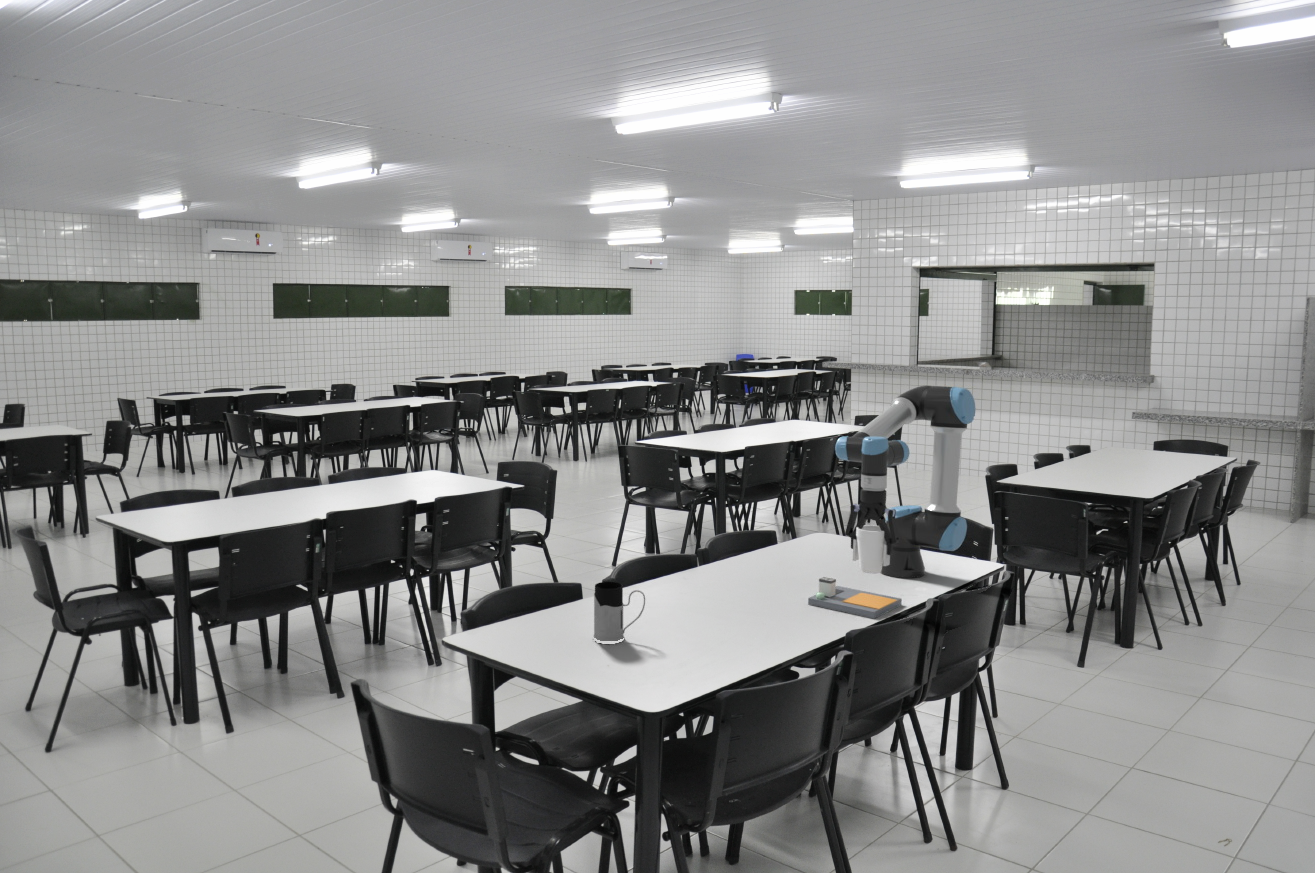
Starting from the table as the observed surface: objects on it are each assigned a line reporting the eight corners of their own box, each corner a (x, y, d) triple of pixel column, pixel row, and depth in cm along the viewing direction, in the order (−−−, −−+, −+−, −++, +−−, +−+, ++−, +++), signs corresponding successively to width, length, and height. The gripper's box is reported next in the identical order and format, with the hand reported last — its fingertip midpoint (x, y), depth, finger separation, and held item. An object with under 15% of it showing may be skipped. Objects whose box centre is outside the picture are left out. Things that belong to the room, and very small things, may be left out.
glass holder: (594, 633, 266) (594, 580, 264) (645, 634, 265) (645, 581, 263) (590, 644, 257) (590, 589, 255) (644, 645, 256) (644, 590, 255)
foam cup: (886, 575, 284) (888, 532, 283) (854, 573, 286) (856, 530, 285) (885, 567, 294) (887, 525, 292) (854, 566, 295) (856, 524, 294)
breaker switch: (823, 592, 299) (824, 576, 299) (835, 594, 297) (835, 579, 296) (818, 594, 297) (819, 578, 297) (830, 597, 295) (830, 581, 294)
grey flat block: (837, 591, 308) (837, 581, 308) (901, 604, 294) (901, 593, 294) (808, 604, 295) (808, 593, 294) (873, 618, 281) (874, 606, 280)
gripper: (834, 486, 291) (832, 558, 294) (902, 494, 277) (899, 570, 280) (846, 483, 297) (844, 554, 299) (913, 491, 283) (910, 566, 285)
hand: (870, 562), depth 290 cm, fingers closed on foam cup, 9 cm apart
